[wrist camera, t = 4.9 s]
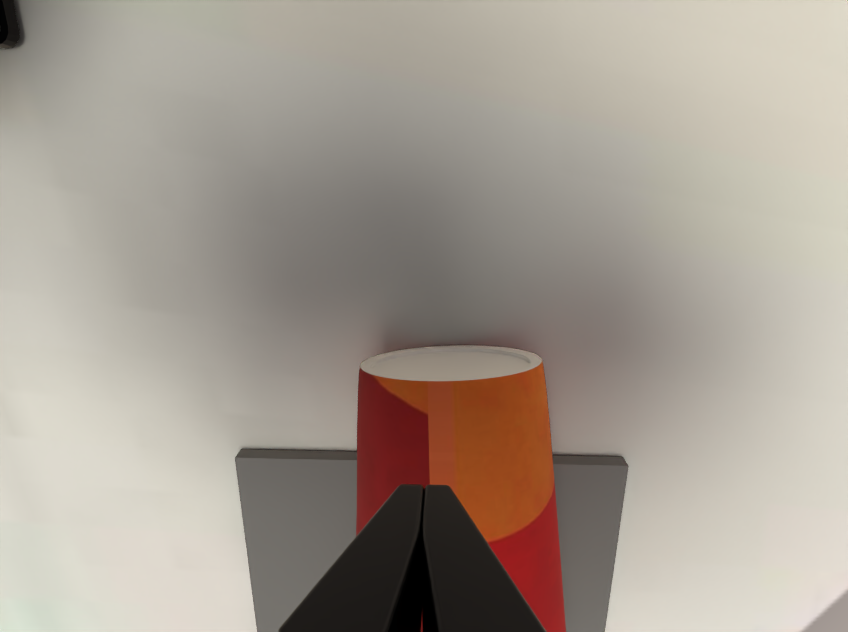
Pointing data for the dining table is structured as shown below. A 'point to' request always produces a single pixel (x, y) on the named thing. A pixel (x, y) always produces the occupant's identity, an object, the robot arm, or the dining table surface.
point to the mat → (336, 527)
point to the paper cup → (468, 452)
